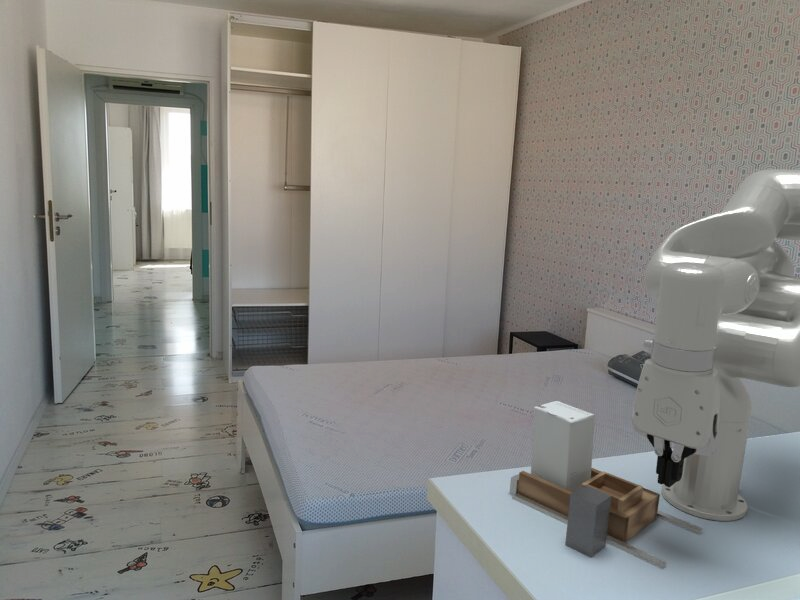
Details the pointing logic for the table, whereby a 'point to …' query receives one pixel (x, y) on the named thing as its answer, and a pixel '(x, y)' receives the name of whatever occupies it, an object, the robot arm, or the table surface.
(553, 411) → the skincare box
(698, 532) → the rail
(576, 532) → the gray rectangular block
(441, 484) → the table surface
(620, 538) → the cradle
